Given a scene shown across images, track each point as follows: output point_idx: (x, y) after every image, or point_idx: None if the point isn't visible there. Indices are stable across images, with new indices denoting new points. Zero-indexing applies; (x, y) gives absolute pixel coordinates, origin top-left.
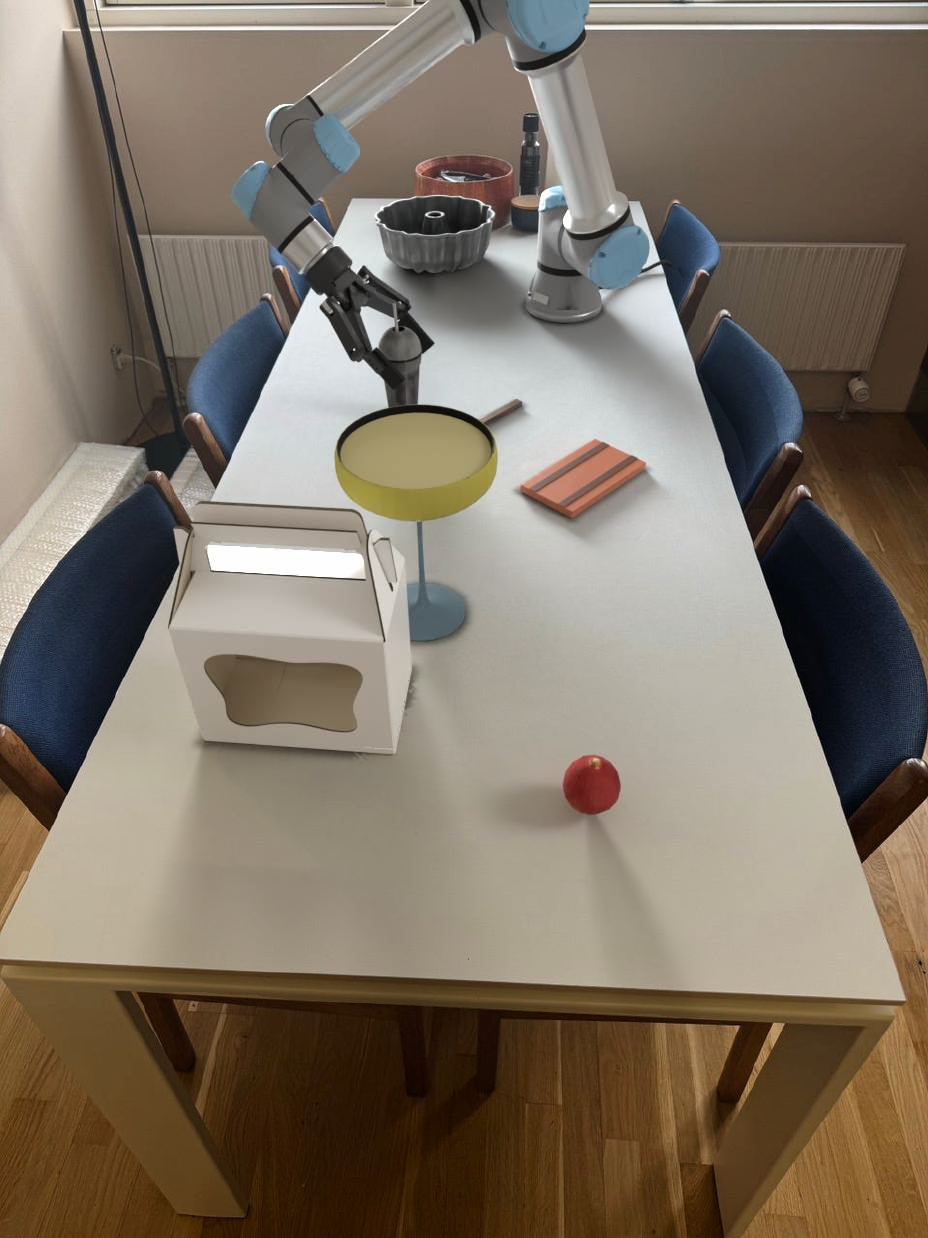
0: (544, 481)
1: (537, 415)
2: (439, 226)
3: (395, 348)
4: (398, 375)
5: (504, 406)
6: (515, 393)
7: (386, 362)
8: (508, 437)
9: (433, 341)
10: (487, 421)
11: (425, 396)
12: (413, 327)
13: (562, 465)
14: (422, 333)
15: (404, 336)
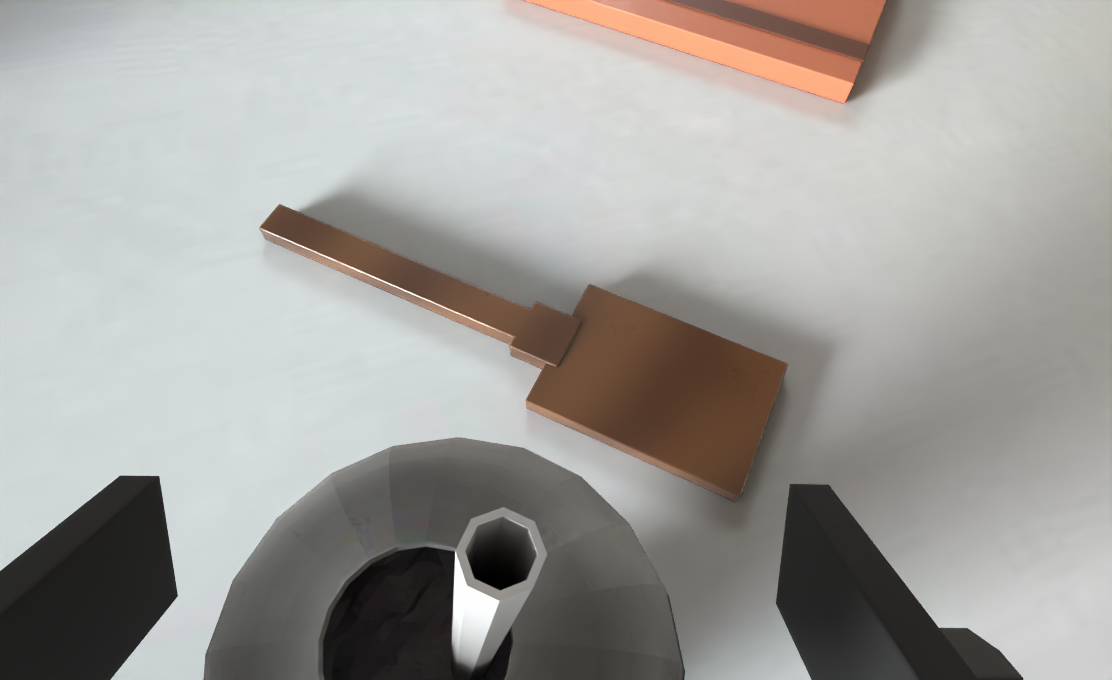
0: (804, 34)
1: (353, 156)
2: None
3: (663, 610)
4: (850, 519)
5: (335, 252)
6: (183, 260)
7: (923, 616)
8: (539, 205)
9: (111, 484)
10: (467, 285)
11: None
12: (8, 655)
13: (689, 14)
14: (76, 555)
15: (535, 519)
